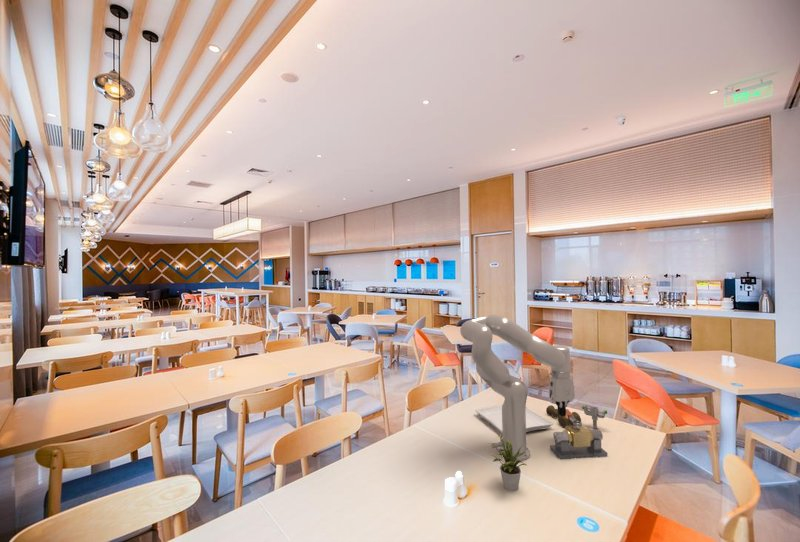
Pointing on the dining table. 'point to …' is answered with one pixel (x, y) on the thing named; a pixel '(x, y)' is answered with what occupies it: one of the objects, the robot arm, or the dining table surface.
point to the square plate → (495, 418)
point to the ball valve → (578, 443)
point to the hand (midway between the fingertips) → (561, 415)
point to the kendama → (561, 420)
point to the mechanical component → (594, 414)
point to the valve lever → (573, 419)
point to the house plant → (509, 466)
